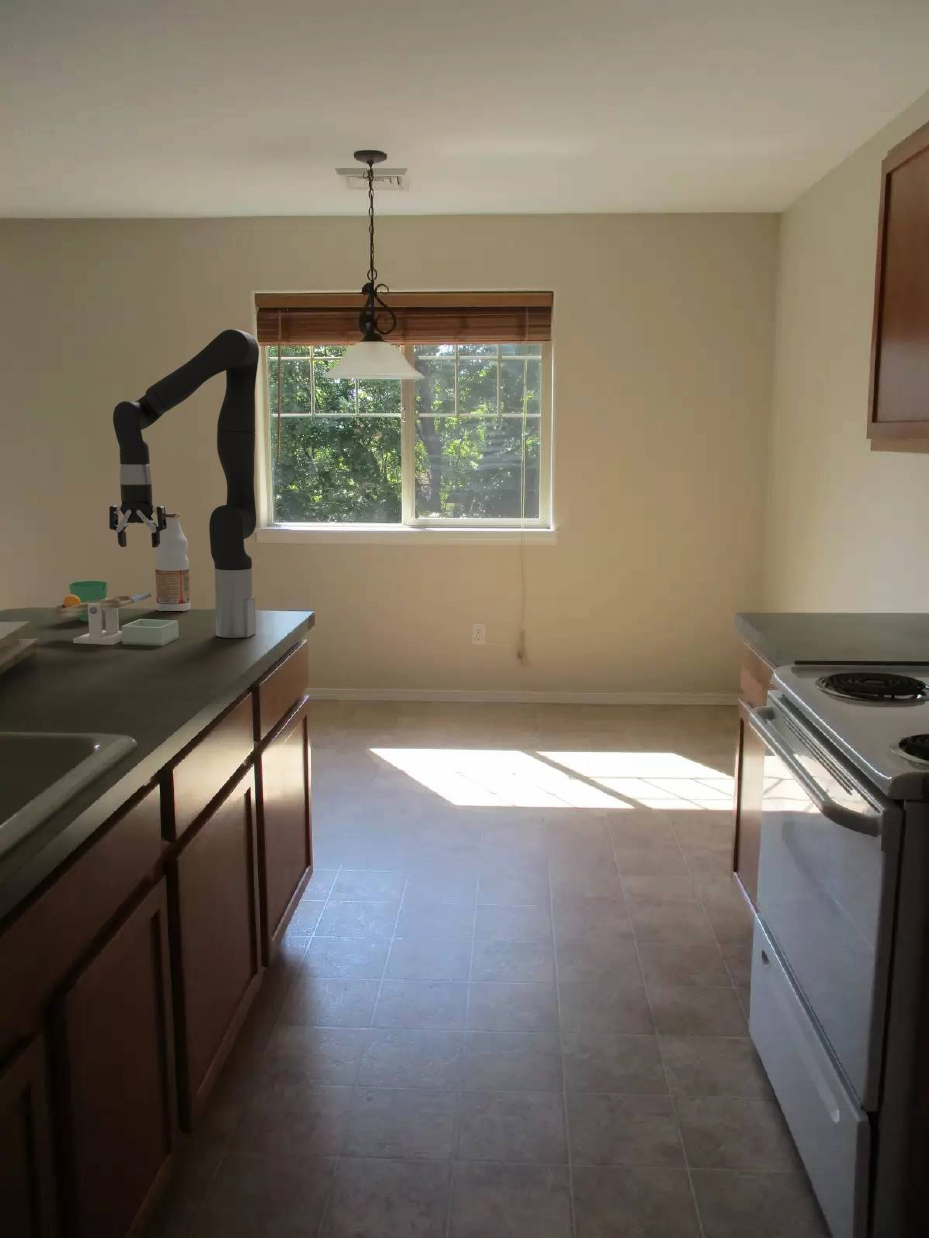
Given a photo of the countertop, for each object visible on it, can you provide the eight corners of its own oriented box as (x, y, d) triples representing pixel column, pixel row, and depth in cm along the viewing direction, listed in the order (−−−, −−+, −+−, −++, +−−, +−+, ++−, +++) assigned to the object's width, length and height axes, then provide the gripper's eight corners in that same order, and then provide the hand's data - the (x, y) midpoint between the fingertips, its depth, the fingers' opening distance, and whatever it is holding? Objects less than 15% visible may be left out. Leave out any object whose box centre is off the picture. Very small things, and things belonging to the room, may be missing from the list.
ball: (85, 608, 250) (82, 592, 250) (77, 611, 246) (74, 595, 246) (70, 609, 251) (67, 594, 250) (61, 612, 247) (58, 596, 246)
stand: (134, 635, 254) (133, 598, 252) (112, 644, 242) (110, 605, 241) (97, 633, 255) (95, 596, 254) (73, 643, 244) (71, 604, 242)
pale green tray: (178, 638, 252) (178, 620, 251) (161, 646, 242) (161, 627, 241) (140, 636, 253) (139, 618, 252) (122, 644, 243) (121, 626, 242)
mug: (107, 622, 271) (106, 585, 269) (68, 623, 268) (66, 586, 266) (112, 613, 285) (110, 578, 283) (75, 614, 282) (73, 578, 280)
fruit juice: (164, 613, 285) (161, 514, 280) (151, 609, 293) (148, 512, 288) (195, 610, 291) (193, 513, 286) (182, 606, 298) (179, 511, 294)
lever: (151, 596, 260) (148, 585, 259) (121, 607, 243) (118, 594, 243) (91, 607, 262) (88, 596, 262) (57, 618, 246) (54, 606, 245)
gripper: (169, 482, 256) (172, 546, 258) (116, 481, 257) (119, 545, 260) (156, 483, 248) (159, 549, 251) (101, 483, 250) (105, 548, 253)
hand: (139, 547), depth 256 cm, fingers open, 8 cm apart
